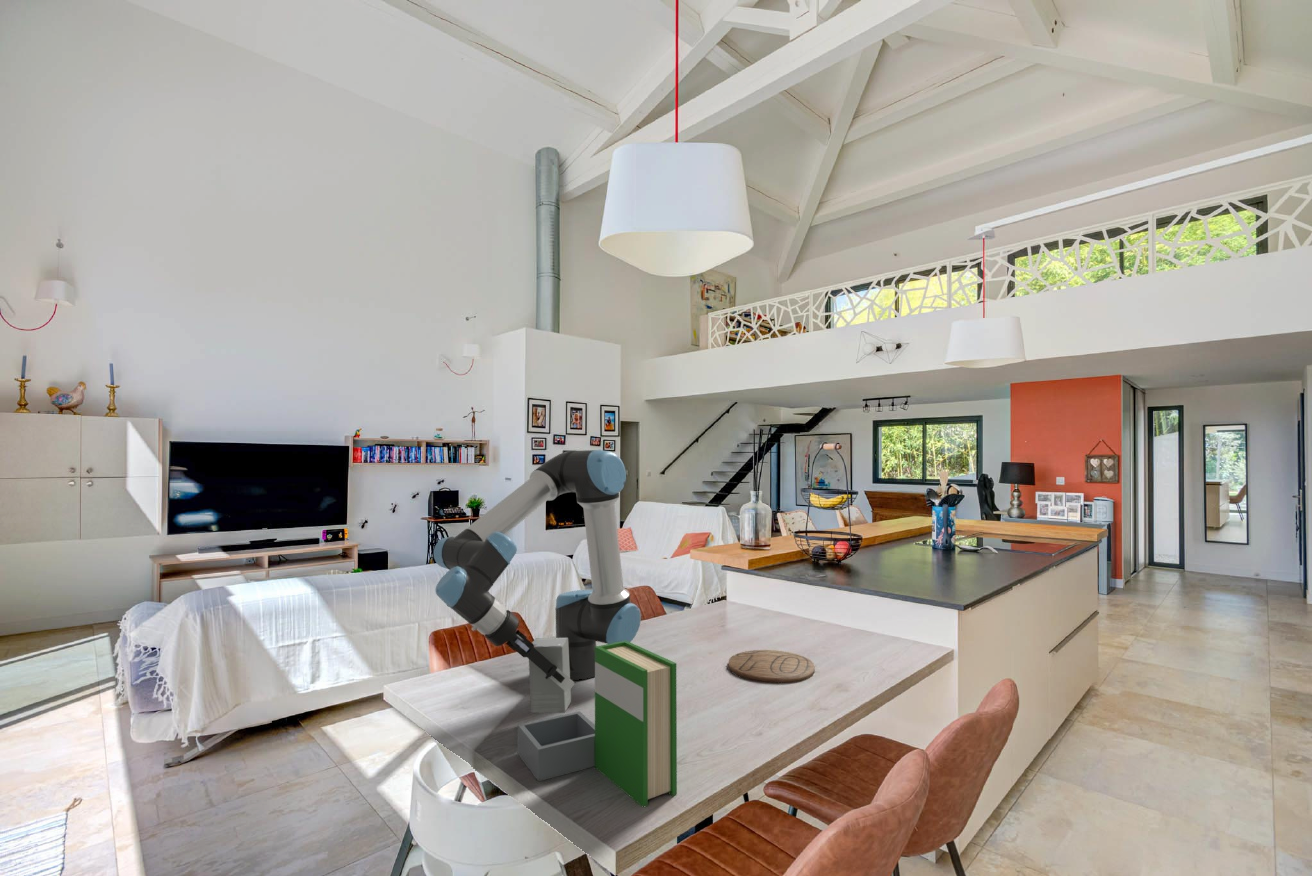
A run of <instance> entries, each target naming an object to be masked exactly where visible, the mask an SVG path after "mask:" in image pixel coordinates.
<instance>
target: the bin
mask: <svg viewBox="0 0 1312 876" xmlns="http://www.w3.org/2000/svg"><path fill="white" fill-rule="evenodd" d="M517 755H518V756H519V757H520V759H521V760H522V761H523V763H524V764H525V765H526V767H527V768H528V770H529V771H530V772H531V774H532V775H533V777H534V778H535V779H536V781H537V782H541V781H545V780H549V779H551V778H556V777H560V776H564V775H567V774H571V773H575V772H577V771H581V770H586V769H590V768H592V767H595V723H593V721H591V720H590V719H589V718H588V717H587V716H586V715H585V714H583V712H581V711H574V712H570V713H566V714H565V713H564V714H560V715H556V716H552V717H548V718H547V717H546V718H543V719H537V720H533V721H528V722H524V723H520V724H518V725H517Z"/></svg>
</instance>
